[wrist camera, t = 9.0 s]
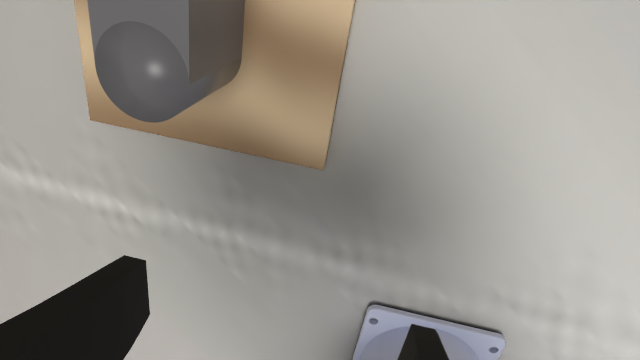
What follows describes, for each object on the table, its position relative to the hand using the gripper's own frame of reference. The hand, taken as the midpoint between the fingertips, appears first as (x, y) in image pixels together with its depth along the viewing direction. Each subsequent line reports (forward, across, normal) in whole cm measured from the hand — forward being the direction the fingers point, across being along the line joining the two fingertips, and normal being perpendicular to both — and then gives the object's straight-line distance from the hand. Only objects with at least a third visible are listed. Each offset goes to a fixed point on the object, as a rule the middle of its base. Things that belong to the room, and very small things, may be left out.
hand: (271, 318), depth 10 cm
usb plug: (+9, +6, -6) cm, 13 cm away
